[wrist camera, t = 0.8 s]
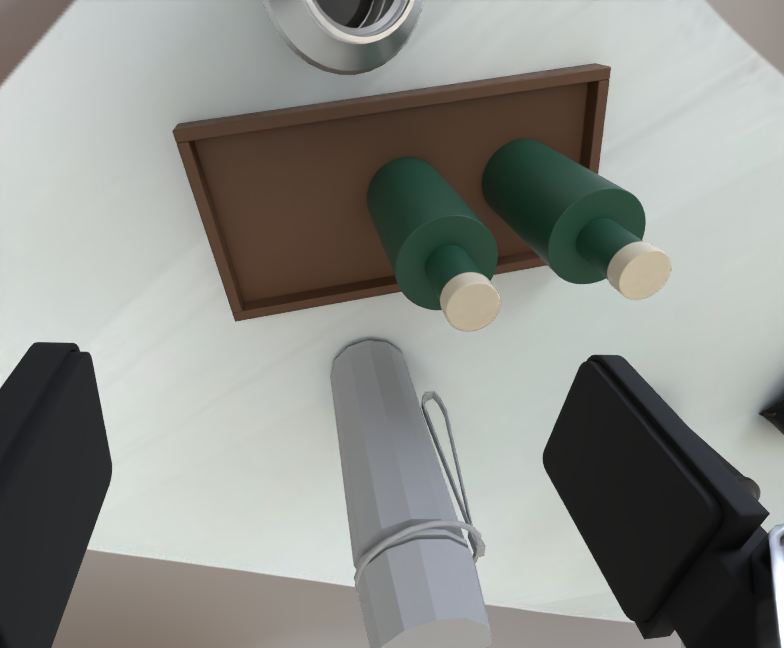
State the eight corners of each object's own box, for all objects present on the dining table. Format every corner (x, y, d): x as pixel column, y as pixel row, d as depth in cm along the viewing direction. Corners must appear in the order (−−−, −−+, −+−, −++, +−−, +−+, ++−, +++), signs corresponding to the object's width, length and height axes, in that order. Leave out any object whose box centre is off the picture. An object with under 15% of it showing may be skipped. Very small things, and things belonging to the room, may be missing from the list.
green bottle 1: (361, 163, 37) (408, 264, 23) (441, 151, 37) (535, 241, 23) (372, 239, 40) (418, 367, 26) (445, 226, 41) (529, 346, 27)
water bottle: (332, 403, 49) (367, 698, 28) (325, 336, 45) (360, 625, 24) (424, 391, 50) (522, 665, 30) (426, 325, 46) (542, 590, 26)
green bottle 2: (481, 144, 38) (596, 230, 24) (558, 132, 38) (714, 210, 24) (481, 220, 41) (583, 335, 27) (552, 208, 41) (687, 315, 28)
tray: (177, 123, 34) (172, 130, 32) (595, 63, 37) (611, 66, 35) (237, 308, 42) (235, 321, 40) (576, 247, 45) (588, 258, 43)
